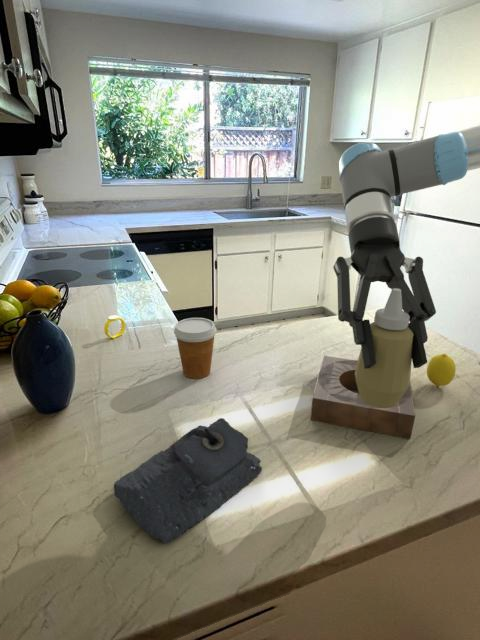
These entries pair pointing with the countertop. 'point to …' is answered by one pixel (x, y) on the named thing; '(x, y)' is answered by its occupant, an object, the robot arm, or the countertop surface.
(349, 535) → the countertop surface
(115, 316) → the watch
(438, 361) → the lemon
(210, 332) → the disposable coffee cup
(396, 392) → the squeeze bottle
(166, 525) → the iron doorstop weight
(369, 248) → the robot arm
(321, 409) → the holder
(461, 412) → the countertop surface
